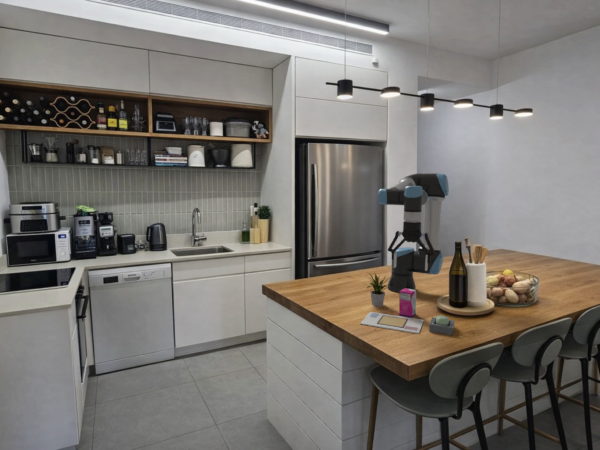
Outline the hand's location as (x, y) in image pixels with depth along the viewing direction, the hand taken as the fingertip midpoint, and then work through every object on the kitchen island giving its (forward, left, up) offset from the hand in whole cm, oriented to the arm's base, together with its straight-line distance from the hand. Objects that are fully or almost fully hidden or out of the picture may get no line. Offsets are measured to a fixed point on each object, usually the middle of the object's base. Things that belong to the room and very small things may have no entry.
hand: (410, 268), depth 178 cm
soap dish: (+11, +15, -22) cm, 29 cm away
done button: (+11, +15, -22) cm, 29 cm away
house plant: (-9, -18, -22) cm, 30 cm away
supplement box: (-1, -1, -22) cm, 22 cm away
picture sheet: (+12, -5, -22) cm, 25 cm away
